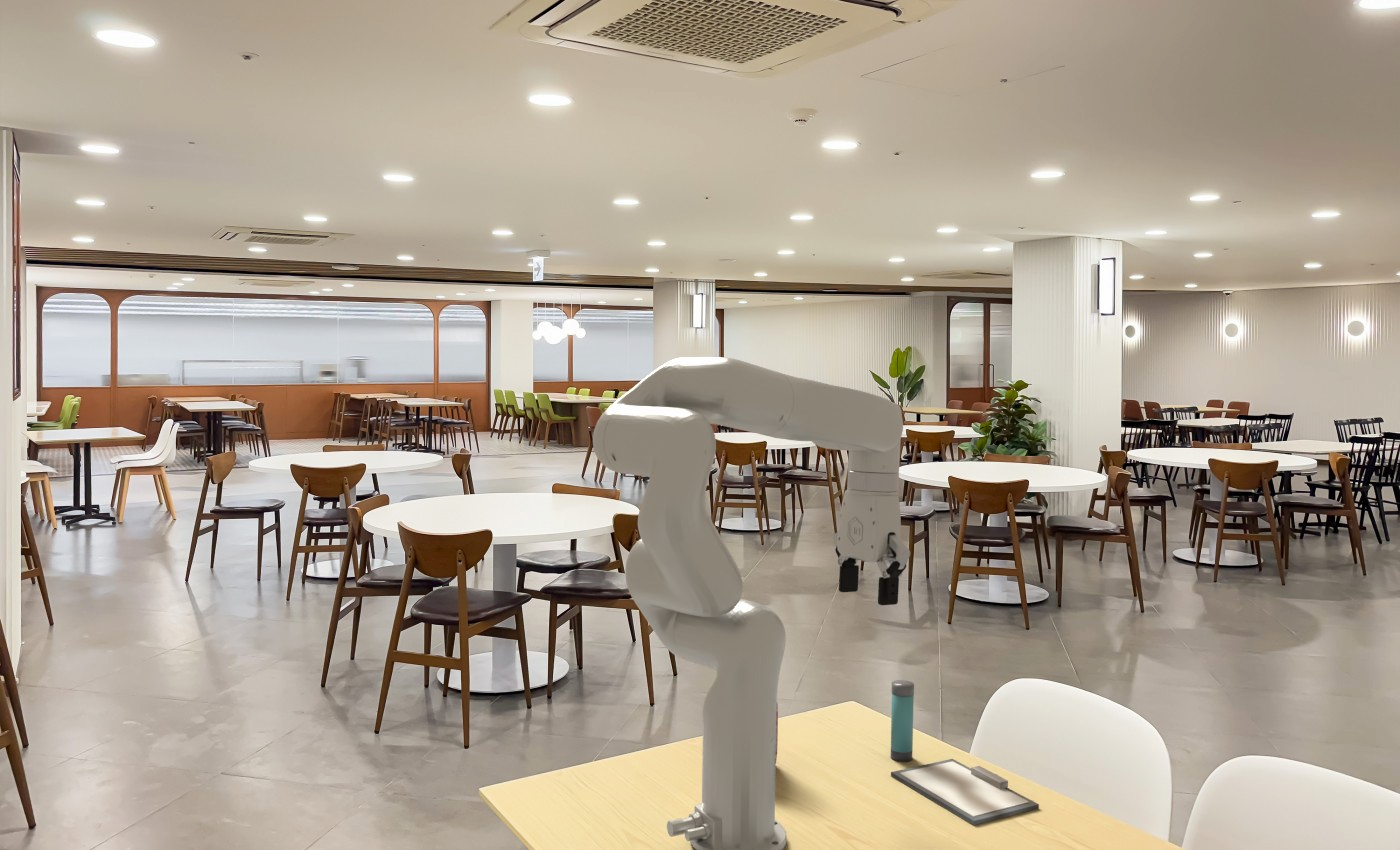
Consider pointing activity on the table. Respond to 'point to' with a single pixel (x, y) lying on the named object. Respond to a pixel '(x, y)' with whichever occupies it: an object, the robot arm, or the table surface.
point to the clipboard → (965, 790)
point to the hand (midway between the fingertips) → (867, 597)
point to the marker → (902, 720)
